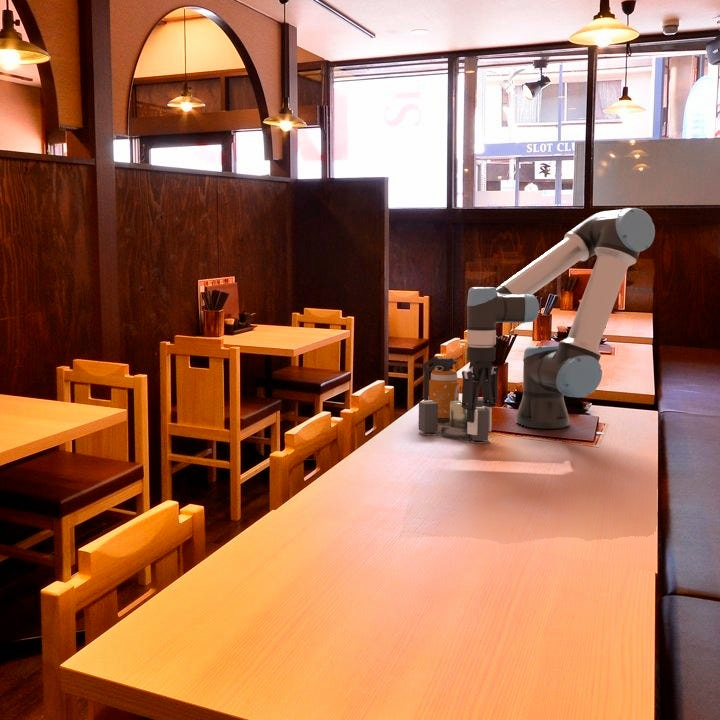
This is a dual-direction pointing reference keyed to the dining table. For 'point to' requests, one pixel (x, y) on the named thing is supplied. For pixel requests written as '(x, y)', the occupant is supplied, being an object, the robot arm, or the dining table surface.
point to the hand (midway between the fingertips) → (479, 432)
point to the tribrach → (456, 425)
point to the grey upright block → (428, 416)
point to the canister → (441, 385)
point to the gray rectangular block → (482, 424)
